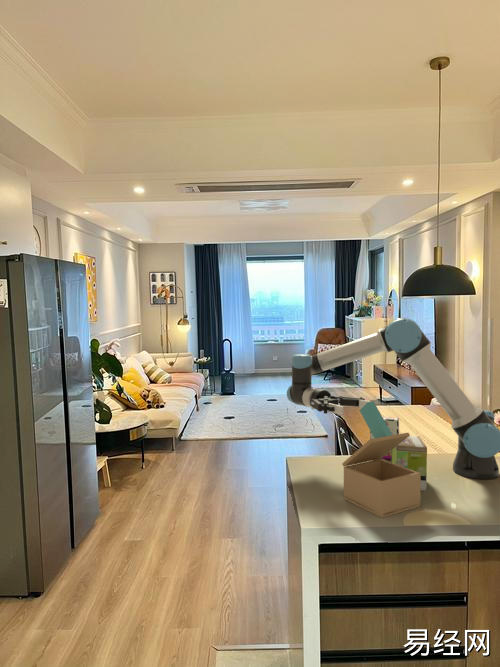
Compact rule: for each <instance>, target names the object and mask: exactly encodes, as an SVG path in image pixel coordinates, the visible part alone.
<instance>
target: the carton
mask: <svg viewBox="0 0 500 667" xmlns="http://www.w3.org/2000/svg"><path fill="white" fill-rule="evenodd" d="M420 486H421V473H419V472H416V471H413V470H411V469H408V468H405V467H402V466H399V465H396V464H394V463H391V461H388V460H386V459H377V460H372V461H367V462H363V463H358V464H353V465H349V466H343V499H344V500H346V501H348V502H349V503H352V504H354V505H355V506H357V507H360V508H362V509H364V510H365V511H368V512H370V513H371V514H374V515H376V516H378V517H379V518H385V517H389V516H392V515H395V514H398V513H402V512H405V511H408V510H411V509H416V508H418V507H421V490H420Z"/></svg>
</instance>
